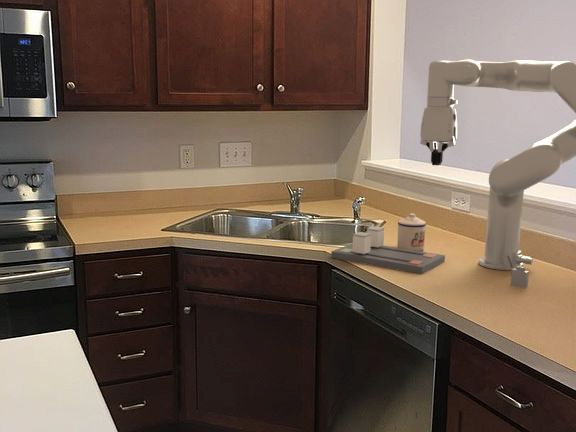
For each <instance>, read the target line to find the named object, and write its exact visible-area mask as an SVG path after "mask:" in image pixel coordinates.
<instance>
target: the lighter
mask: <svg viewBox="0 0 576 432" xmlns="http://www.w3.org/2000/svg"><path fill="white" fill-rule="evenodd" d="M502 259H503V261H504V264H505V267H506V269H507V270H506V271H507V272H508V271H510V272H511V275H510V276H511V277H510V284H509V285H510V286H513V287H518V288H521V289H522V288H523V289H527V288H528V284H529V275H530V271H528V270H526V268H525V266H523V267H520V266H517V267H516V269H514V267H513V264H512V261H511V259H510V256H509V254H507V255H504V256H502Z"/></svg>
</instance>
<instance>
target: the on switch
mask: <svg viewBox="0 0 576 432" xmlns="http://www.w3.org/2000/svg"><path fill="white" fill-rule="evenodd" d="M366 233H370V234H371V247H380V246H383V245H384V238H385V237H384V236H385V228H384V227H381V226H380V227H379V226H369V227H368V228H366Z"/></svg>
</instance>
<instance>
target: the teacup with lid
mask: <svg viewBox="0 0 576 432" xmlns="http://www.w3.org/2000/svg"><path fill="white" fill-rule="evenodd" d="M426 223H427V222H426V220H423V219H421V218H419V217H417V216H416V213H409V215H408V216H406V217H404V218H402V219H398V221H397V225H398V226H397V227H398V228H397V244H396V245H397V246H396V248H402V249H408V250H415V251H421V252H423V250H424V249H425V237H426V236H425V235H426V225H427V224H426Z"/></svg>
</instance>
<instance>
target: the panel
mask: <svg viewBox="0 0 576 432" xmlns="http://www.w3.org/2000/svg"><path fill="white" fill-rule="evenodd" d="M352 251H353V242H352V243H350V244H348V245H345V246H343V247H340V248H337V249H334V250H331V252H330V253H331V254H330V255H331V256H330V257H331V258H332V259H337V260H340V261H341V260H343V261H348V262H353V263H359V264H365V265H371V266H376V267H381V268H387V269H393V270H397V269H398V271H402V270H404V272H408V271H409V273H413V272H414V273H415V274H419V275H423V274H425V273H427V272H428V271H431V270H432V269H434V268H436V267H438V266H440V265H441V264H443V263H445V261H446V255H445V254H440V253H439V254H438V253H434V252H433V253H431V252H426V251H415V250H408V249H402V248H398V247H397V246H396V247H394V246H389V245H384V244H383V246H380V247H370V252H368V253H365V254H361V253H355V252H352Z"/></svg>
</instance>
